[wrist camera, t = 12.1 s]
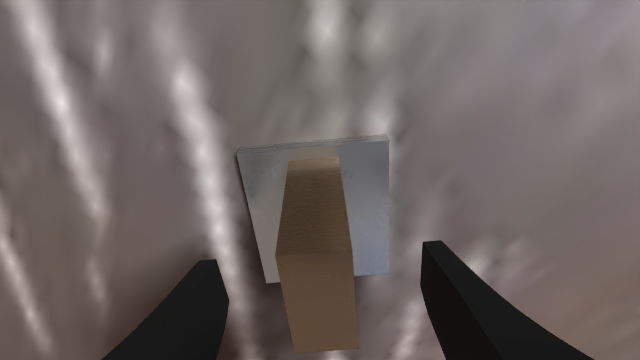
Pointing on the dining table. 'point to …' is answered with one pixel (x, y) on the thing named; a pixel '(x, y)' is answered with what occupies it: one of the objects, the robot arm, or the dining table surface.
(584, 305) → the dining table surface
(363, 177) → the trowel
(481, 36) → the dining table surface
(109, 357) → the robot arm
